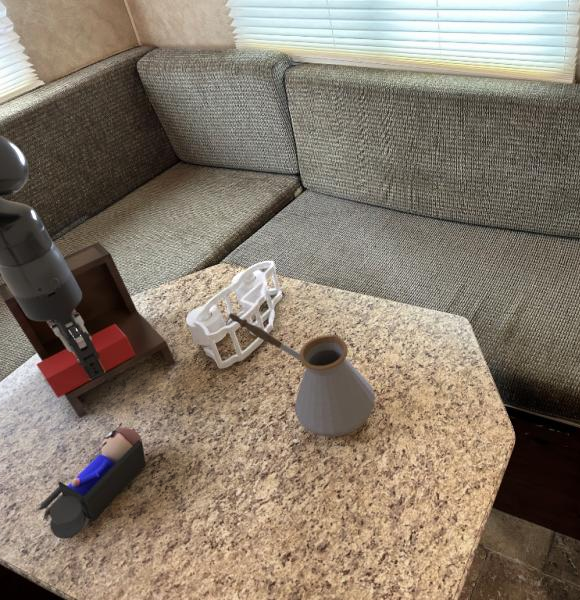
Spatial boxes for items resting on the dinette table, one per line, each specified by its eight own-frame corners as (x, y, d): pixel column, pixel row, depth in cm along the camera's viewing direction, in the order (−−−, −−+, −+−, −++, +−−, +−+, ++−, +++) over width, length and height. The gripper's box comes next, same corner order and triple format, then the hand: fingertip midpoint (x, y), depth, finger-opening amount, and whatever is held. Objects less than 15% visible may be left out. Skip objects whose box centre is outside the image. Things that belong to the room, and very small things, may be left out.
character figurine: (47, 534, 77) (135, 447, 87) (83, 555, 74) (171, 461, 84) (15, 498, 73) (112, 409, 83) (52, 518, 69) (149, 423, 79)
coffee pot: (390, 398, 90) (379, 322, 80) (352, 457, 82) (336, 381, 73) (273, 361, 98) (251, 288, 89) (229, 412, 90) (199, 338, 81)
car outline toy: (259, 285, 114) (250, 253, 110) (305, 301, 110) (298, 268, 105) (181, 353, 102) (167, 320, 97) (230, 373, 97) (218, 340, 92)
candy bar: (58, 398, 89) (45, 379, 86) (48, 382, 91) (35, 363, 89) (135, 355, 94) (126, 336, 92) (124, 342, 97) (114, 323, 95)
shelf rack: (79, 418, 92) (26, 335, 81) (45, 366, 102) (-6, 287, 91) (175, 362, 100) (139, 280, 89) (135, 319, 110) (98, 241, 99)
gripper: (-4, 270, 84) (51, 357, 95) (27, 315, 76) (83, 405, 86) (50, 247, 88) (97, 333, 99) (86, 287, 79) (133, 377, 90)
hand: (91, 366), depth 93 cm, fingers closed on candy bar, 4 cm apart
